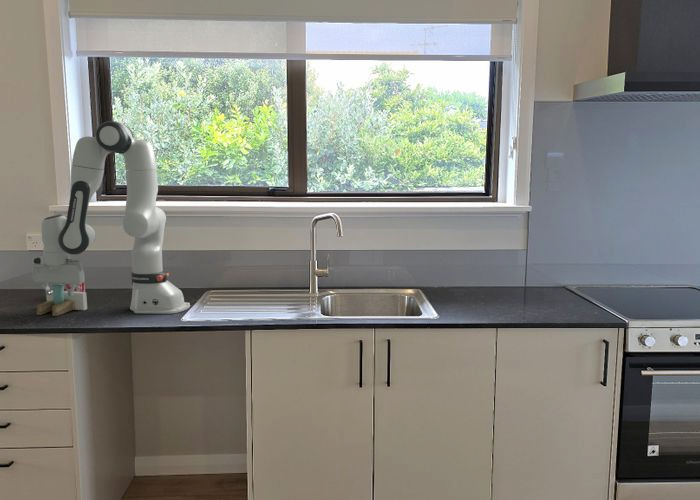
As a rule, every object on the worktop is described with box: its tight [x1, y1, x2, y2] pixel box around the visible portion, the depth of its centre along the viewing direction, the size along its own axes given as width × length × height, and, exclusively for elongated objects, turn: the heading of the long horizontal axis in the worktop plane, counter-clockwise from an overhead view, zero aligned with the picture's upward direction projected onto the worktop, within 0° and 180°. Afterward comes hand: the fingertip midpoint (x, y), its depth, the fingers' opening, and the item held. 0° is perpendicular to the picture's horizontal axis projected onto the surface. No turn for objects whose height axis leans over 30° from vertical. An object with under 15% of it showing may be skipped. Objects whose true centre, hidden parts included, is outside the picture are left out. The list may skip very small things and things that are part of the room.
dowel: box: [52, 284, 65, 305], centre depth 231 cm, size 4×4×10 cm
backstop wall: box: [45, 289, 88, 311], centre depth 235 cm, size 16×2×6 cm, turn 78°
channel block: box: [36, 299, 75, 316], centre depth 230 cm, size 8×10×4 cm
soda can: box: [65, 281, 86, 292], centre depth 252 cm, size 7×7×12 cm
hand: (60, 294), depth 231 cm, fingers open, 8 cm apart
